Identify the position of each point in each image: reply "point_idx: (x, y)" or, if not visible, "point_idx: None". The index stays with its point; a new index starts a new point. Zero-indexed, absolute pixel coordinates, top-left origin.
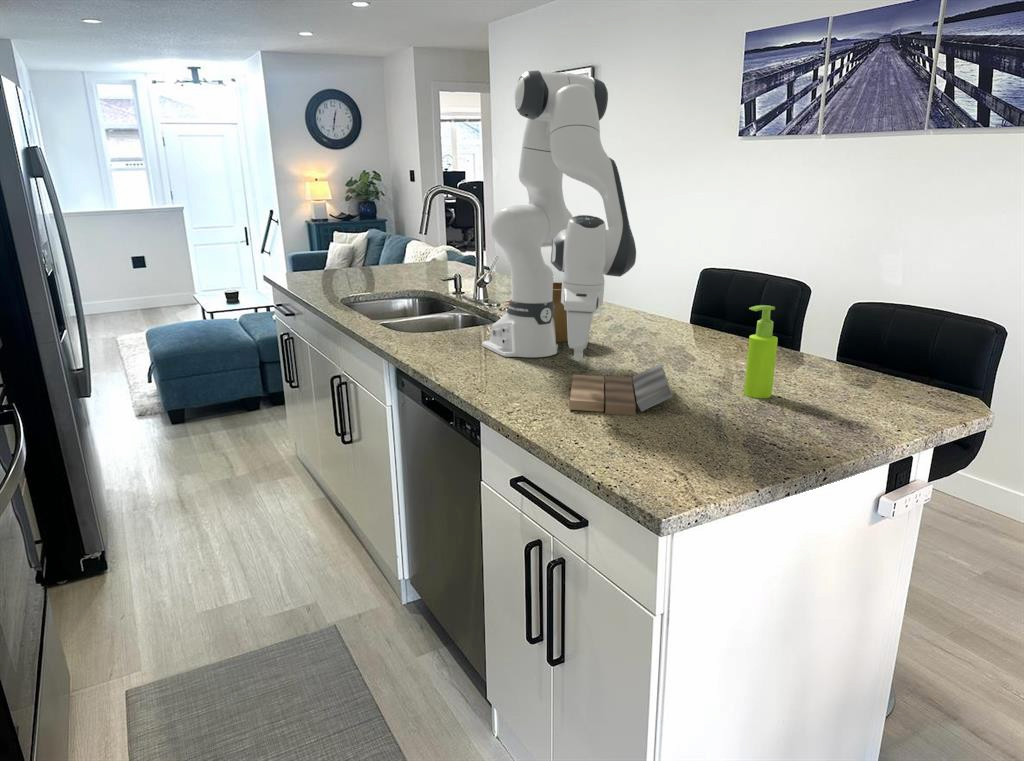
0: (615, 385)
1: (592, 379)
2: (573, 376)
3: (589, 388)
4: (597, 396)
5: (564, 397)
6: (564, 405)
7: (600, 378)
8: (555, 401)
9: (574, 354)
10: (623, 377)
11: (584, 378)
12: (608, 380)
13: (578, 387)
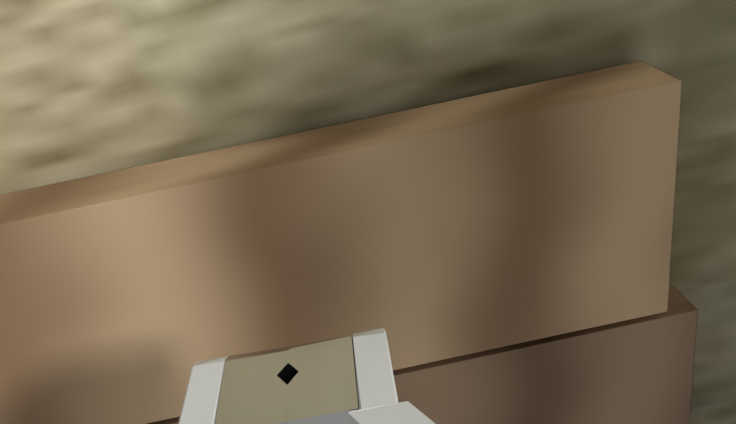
0: (453, 420)
1: (557, 263)
2: (613, 101)
3: (287, 302)
4: (106, 394)
5: (231, 90)
6: (20, 144)
7: (604, 305)
8: (84, 48)
9: (179, 421)
10: (666, 419)
11: (571, 202)
12: (571, 358)
13: (275, 224)
